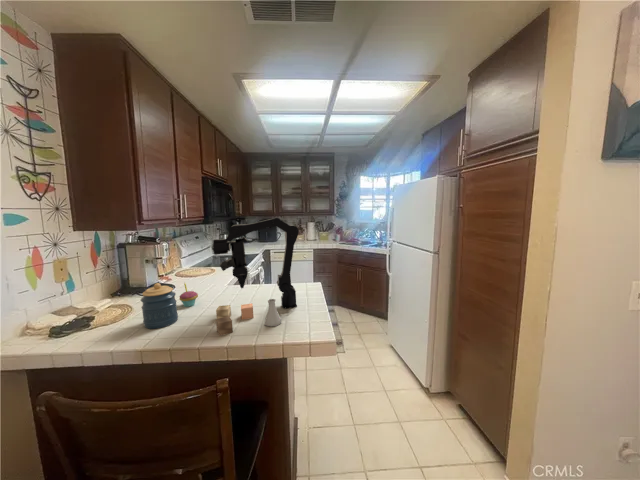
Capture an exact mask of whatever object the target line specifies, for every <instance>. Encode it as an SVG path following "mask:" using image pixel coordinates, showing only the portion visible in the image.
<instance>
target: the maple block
mask: <svg viewBox="0 0 640 480" xmlns="http://www.w3.org/2000/svg"><path fill="white" fill-rule="evenodd" d="M215 313H216V319H219V318H223V317H227V316H229V317H230V318H231V316H232V308H231V305H229V304H226V305H218V306H217V308H216V310H215Z"/></svg>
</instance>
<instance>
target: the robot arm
mask: <svg viewBox="0 0 640 480" xmlns="http://www.w3.org/2000/svg"><path fill="white" fill-rule="evenodd" d="M273 227H277V228H279V229H280V230H282V231H283V232H284V239H285V246H284V255H283V262H282V268H281V269H282V270H281V273H280V274H277V281H276V284H277V287H278V289H279V291H280V292H281V297H280V302H281V303H280V304H281V306H282V309H291V308H297V307H298V305H297V293H296V292H297V291H296V289H295V287H294V285H292V280H291V279H292V278H291V269H292V261H293V254H294V249H295V248H294V247H295V243H296V241H297V239H298V236H299V229H298V227H297V226H296V225H293V224H288V223H286V221H285V222H284V221H283V220H281V219H280V218H279V217H272V218H270V219H266V220H260V221H257V222H253V223H245V224H243V223H242V224H240V223H239V224H233V225H232V226H231V227H230V228H229V229H228V235H227V236H226V238H223V239H222V238H221V239H213V240H212V241H213V245H212V246H213V247H212V250H213V254H214V255H226V254H229V252H230V251H231V256H230V258H228V259H225V260H223V261H221V262H220V263H219V267H220V269H221V270H222V272H224V271H226V270H227V269H229V268H231V267H232V276H233V277H235V278H236V279H237V282H238V283H239V284H238V285H239V287H240V289H244V286H245V283H246V280H247V278H248V273H249V271H248V267H247V266H248V265H247V260H246V252H245V243H248V241H249V240H248V239H247V238H246V237H245V236H246V235H247V234H250V233H253V232H257V231H260V230H265V229H269V228H273ZM234 239H235V240H234Z"/></svg>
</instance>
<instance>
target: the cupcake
mask: <svg viewBox="0 0 640 480" xmlns="http://www.w3.org/2000/svg"><path fill="white" fill-rule="evenodd" d="M183 285H184V288H185V289H184V290H185V291H184V292H182V293H181V294H180V295H179V296H178V297H179V301H181V303H182V304H183V306H184V308H188V307H189V308H190V307H193V306H195V303H196V300H197V299H198V298H199V294H198V292H196V291H194V290H191V291H190V290H188V288H187V283H186V282H185V281H184V284H183Z"/></svg>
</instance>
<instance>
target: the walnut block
mask: <svg viewBox="0 0 640 480" xmlns="http://www.w3.org/2000/svg"><path fill="white" fill-rule="evenodd" d="M215 320H216V321H215V323H216V331H217V334H218V335H219V337H220V336H221V337H222V336H225V335H228V334H232V333H234V328H233V319H232V318H231V317H229V316H227V317H223V318H219V319H217V318H216V319H215Z"/></svg>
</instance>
